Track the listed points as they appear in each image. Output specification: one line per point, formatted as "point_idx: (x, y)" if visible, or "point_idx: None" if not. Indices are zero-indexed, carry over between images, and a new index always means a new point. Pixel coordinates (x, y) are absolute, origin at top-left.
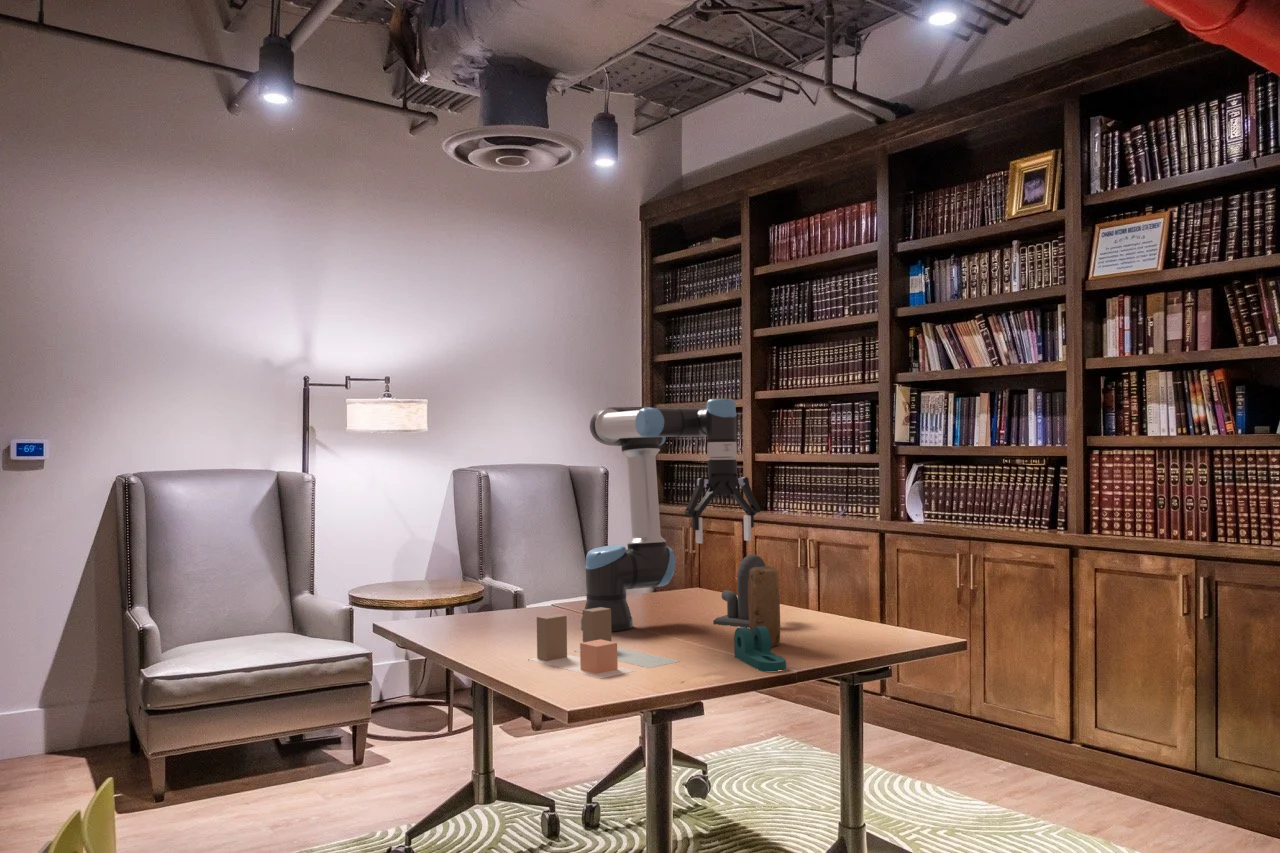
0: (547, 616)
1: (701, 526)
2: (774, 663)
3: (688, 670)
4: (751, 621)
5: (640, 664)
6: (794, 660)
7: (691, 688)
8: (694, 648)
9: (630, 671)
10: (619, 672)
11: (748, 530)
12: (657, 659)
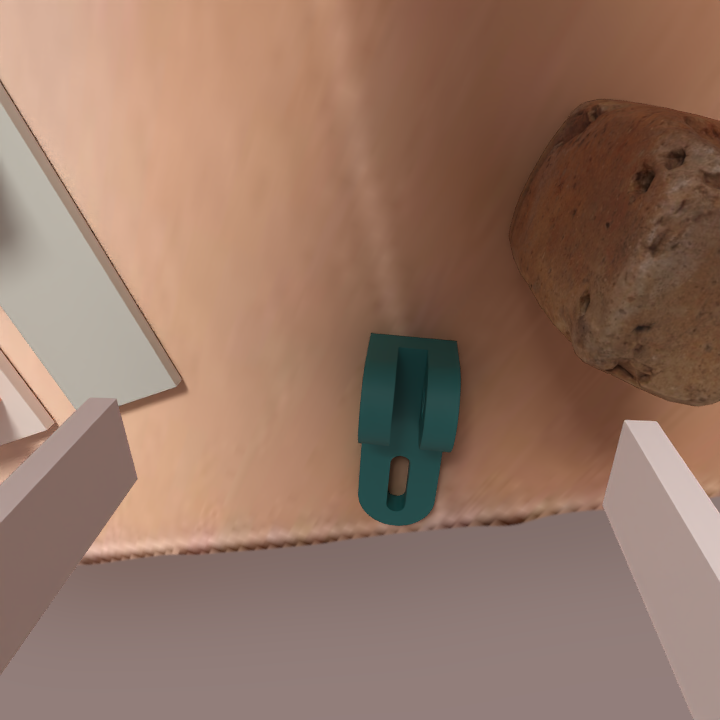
0: None
1: (35, 606)
2: (386, 522)
3: (194, 415)
4: (523, 237)
5: (63, 376)
6: (505, 436)
7: (161, 542)
8: (301, 144)
9: (33, 431)
10: (6, 429)
11: (639, 591)
12: (117, 342)
